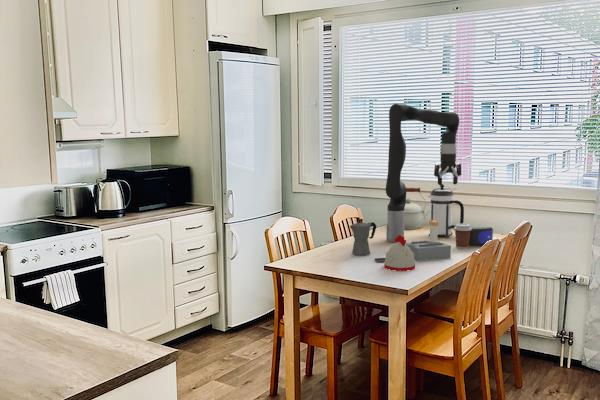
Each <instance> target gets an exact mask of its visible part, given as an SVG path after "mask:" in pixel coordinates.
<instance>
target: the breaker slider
mask: <svg viewBox="0 0 600 400" xmlns="http://www.w3.org/2000/svg"><path fill="white" fill-rule="evenodd" d="M429 234H430V236H429V240H428V239H427V240H426V241H427V243H430V244H434V243H440V242H441V241H440V240H438V236H439V235H438V222H437V221H434V220H432V221H431V220H429ZM439 241H440V242H439Z"/></svg>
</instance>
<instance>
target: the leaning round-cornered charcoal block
mask: <svg viewBox="0 0 600 400" xmlns="http://www.w3.org/2000/svg"><path fill="white" fill-rule="evenodd" d="M471 228H472V230H471V231H470V239H469V246H470V247H483V246H482V245H484V244H485V243H486V242H487V241H489V240H492V241H493V238H494V237H493V233H494V229H493V227H491V226H487V227H486V226H485V227H483V226H482V227H471Z"/></svg>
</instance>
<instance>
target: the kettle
mask: <svg viewBox="0 0 600 400" xmlns="http://www.w3.org/2000/svg"><path fill="white" fill-rule="evenodd" d="M421 191H422V190H421V187H406V193H409V192H410V193H415V192H418V193H419V195H420V197H421V198H422V199H423V200H424V202H425V204H424V208H423V209H422V208H421V207H420V205H419V204H417V203H415V202H414V203H413V202H412V200H411V199H410V198H406V204H405V207H404V230H416V229H418V228H420V225H421V224H422V223H423V222H424V221H425V220H426V219H427V218H428V216H429V214H431V209H427V210H426V212H425V209H426V206H427V201H426V199H425V198H424V197H423V196H422V194H421Z"/></svg>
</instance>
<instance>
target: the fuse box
mask: <svg viewBox="0 0 600 400" xmlns="http://www.w3.org/2000/svg"><path fill="white" fill-rule="evenodd" d="M438 241H439V242H440V243H434V244H430V243H427V240H418V241H417V240H415V241H410V242H408V241H406V243H405V244H406V245H407V246H408V247H409V248H410V250H411V251H412V252H414V260H415V261H418V262H419V261H429V260H440V259H451V255H452V254H451V253H452V252H451V251H452V245H451V244H448V243H445V242H443V241H440V240H438Z"/></svg>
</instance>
